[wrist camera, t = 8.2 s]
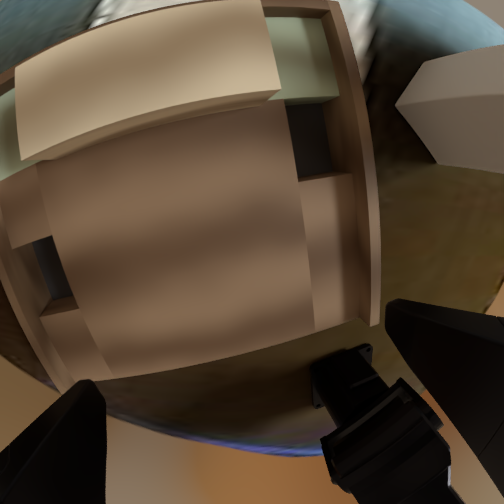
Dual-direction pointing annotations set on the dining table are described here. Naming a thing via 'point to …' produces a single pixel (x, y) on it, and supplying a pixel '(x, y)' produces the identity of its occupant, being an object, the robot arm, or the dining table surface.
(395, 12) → the dining table surface
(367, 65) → the dining table surface
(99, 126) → the cream rectangular block
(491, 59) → the milk carton
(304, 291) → the open tray box
